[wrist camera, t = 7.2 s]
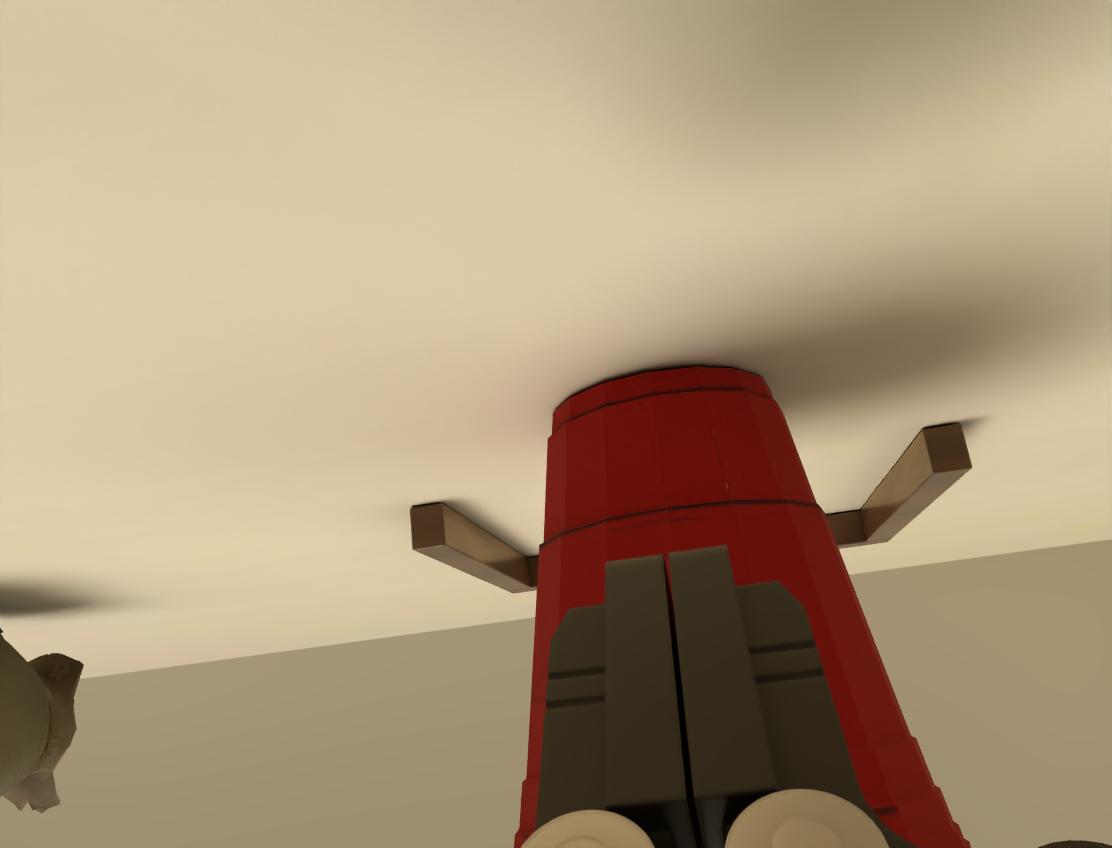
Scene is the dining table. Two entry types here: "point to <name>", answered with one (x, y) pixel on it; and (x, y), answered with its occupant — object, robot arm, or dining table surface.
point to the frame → (886, 512)
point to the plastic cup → (713, 520)
